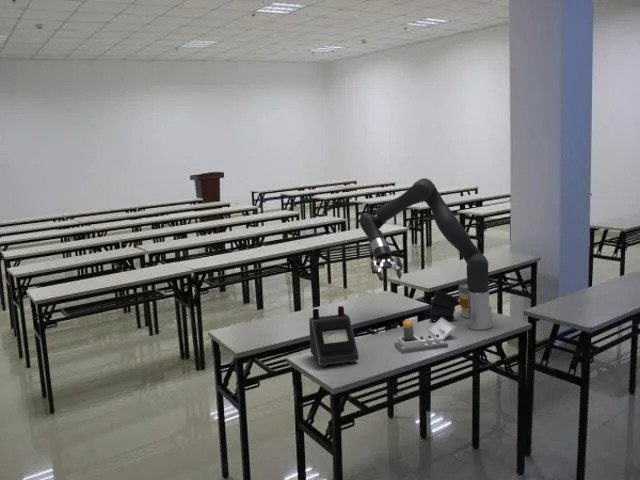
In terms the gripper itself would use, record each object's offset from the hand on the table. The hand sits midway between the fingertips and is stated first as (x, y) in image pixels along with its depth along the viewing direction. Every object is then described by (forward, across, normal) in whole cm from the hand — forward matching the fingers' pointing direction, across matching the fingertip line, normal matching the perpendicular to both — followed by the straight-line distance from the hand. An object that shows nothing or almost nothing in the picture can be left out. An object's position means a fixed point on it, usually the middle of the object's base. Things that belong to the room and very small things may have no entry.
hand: (391, 278), depth 264 cm
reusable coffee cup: (+14, +43, +22) cm, 51 cm away
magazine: (+14, +28, +22) cm, 38 cm away
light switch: (+27, +18, +10) cm, 34 cm away
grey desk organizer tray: (+33, +3, +3) cm, 33 cm away
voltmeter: (+32, -35, +4) cm, 47 cm away
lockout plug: (+32, -2, +2) cm, 32 cm away
